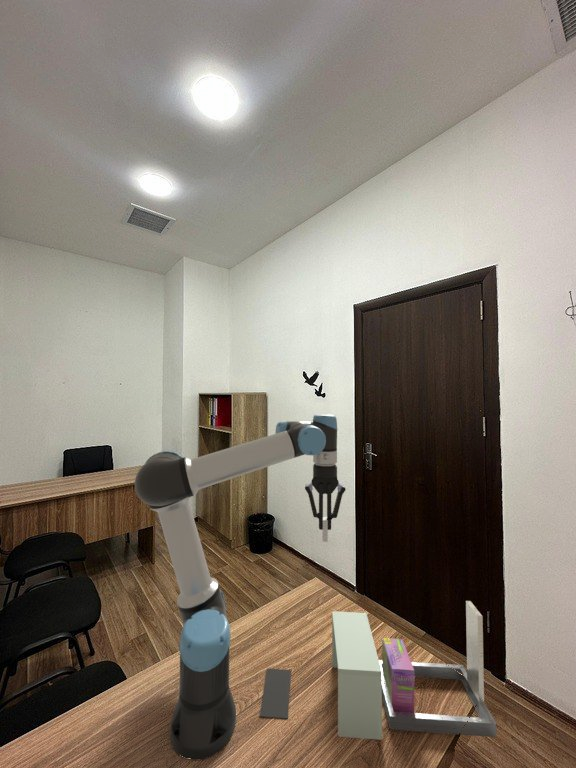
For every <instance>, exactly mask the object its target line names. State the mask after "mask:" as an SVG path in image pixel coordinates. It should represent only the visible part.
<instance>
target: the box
mask: <svg viewBox="0 0 576 768" xmlns="http://www.w3.org/2000/svg"><path fill="white" fill-rule="evenodd" d="M381 639H382V641H381V642H382V645H381V648H382V649H381V654H382V655H381V659H382V670H383V673H384V677H385V681H386V685H387V688H388V692H389V696H390V699H391V703H392V707H393V711H394V712H406V713H415V678H416V677H415V671H414V668H413V666H412V663H411V662H412V660H411V657H410V656H409V653H408V650H407V647H406V645H405V642H404V640H403V639H401V638H391V637H390V638H389V637H382V638H381Z"/></svg>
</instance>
